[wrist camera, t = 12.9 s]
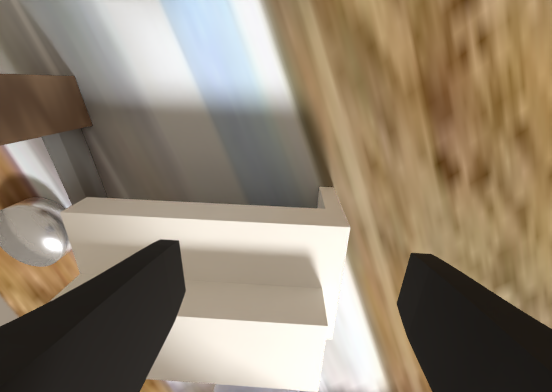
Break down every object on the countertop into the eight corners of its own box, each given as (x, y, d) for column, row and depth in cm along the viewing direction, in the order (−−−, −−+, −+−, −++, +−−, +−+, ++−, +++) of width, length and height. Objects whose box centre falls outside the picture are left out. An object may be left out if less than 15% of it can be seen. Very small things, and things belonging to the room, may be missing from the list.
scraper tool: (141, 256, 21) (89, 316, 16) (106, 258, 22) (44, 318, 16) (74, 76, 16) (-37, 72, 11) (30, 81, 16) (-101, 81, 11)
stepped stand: (321, 288, 22) (336, 393, 14) (143, 277, 22) (71, 373, 15) (333, 187, 18) (362, 257, 11) (122, 177, 19) (13, 238, 11)
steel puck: (91, 248, 22) (73, 264, 20) (36, 253, 22) (14, 268, 20) (65, 193, 20) (42, 204, 18) (5, 199, 20) (-23, 210, 18)
